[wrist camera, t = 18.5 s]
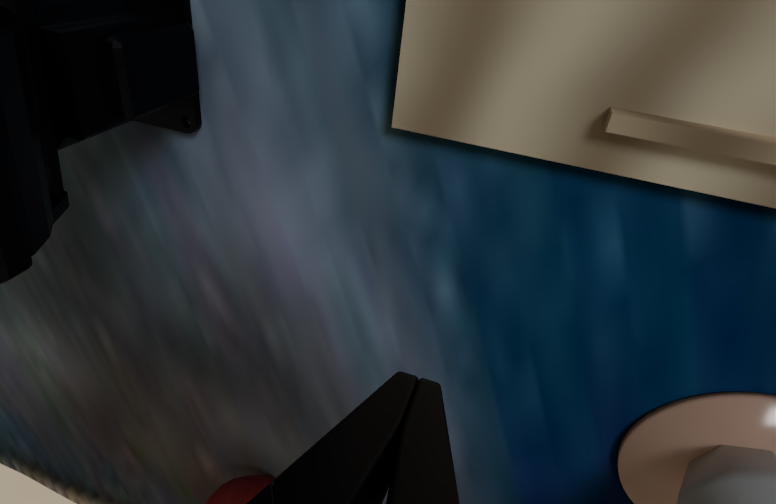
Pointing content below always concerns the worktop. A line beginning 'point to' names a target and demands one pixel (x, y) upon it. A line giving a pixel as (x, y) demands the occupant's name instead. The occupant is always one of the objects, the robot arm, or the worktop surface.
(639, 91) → the board
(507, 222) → the worktop surface
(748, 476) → the salt shaker
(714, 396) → the pad
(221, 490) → the onion
